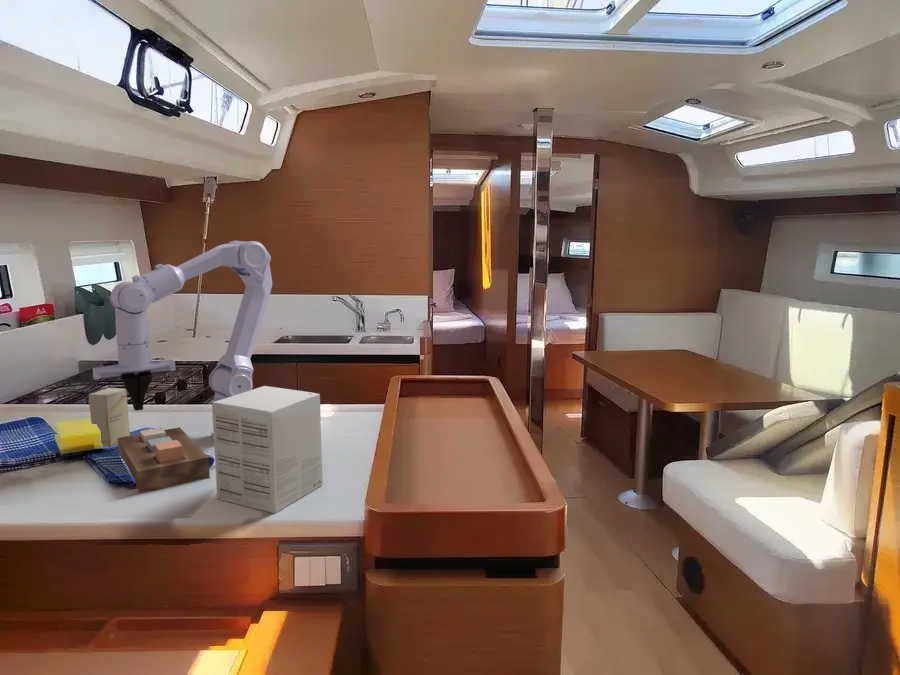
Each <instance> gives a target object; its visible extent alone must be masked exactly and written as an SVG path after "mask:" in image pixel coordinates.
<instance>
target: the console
mask: <svg viewBox="0 0 900 675" xmlns="http://www.w3.org/2000/svg"><path fill="white" fill-rule="evenodd" d="M163 430H164V431H165V432H166V437H168V436H169V437H170V438H171V439H172V440H173V441H174V440H178V441H179V443H180V444H181V445H182V447H183V460H178V461H173V462H168V463H163V464H157V462H156V459H155V452H154V453H150V452H149V451H148V445H147V442H146V443H142V441H141V435H140V433H138V434H134V435H133V434H132V435H131V434H130V436H126V437H120V438H117V442H118V448H117V451H118V452H119V453H120V455H121V457H122V458H123V460H124V461H125V463H126V465H127V466H128V468H129V470H130V472H131V474H132V476H133V477H134V479H135V482H136V486H135V487H136V489H137V491H138V493H139V494H141V493H147V492H150V491H155V490H160V489H165V488H168V487H174V486H177V485H183V484H188V483H191V482H196V481H200V480H205V479H209V478H210V477H211V476H210V475H211V474H210V473H211V472H210V461H209V460H210V459H209V456H208V455H207V454H206V453H205V452H204V451H203V449H201V448H200V447H199V445H197V444H196V442H194V441H193V439H192V438H190V436H189V435H188V434H187V433H186V432H185V431H184V430H183V429H182V428H181V427H180V426H179V427H174V428H169V429H163ZM119 453H118V454H119Z"/></svg>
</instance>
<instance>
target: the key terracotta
mask: <svg viewBox="0 0 900 675" xmlns="http://www.w3.org/2000/svg"><path fill="white" fill-rule="evenodd" d="M154 446H155V459H156V462H157V464H163V463H168V462H173V461H178V460H183V447H182V445H181V444H180V443H179V441H178V440H174V441H169V442H163V443H158V444H154Z"/></svg>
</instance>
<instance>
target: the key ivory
mask: <svg viewBox="0 0 900 675" xmlns="http://www.w3.org/2000/svg"><path fill="white" fill-rule="evenodd" d="M164 430H165V429H163V428H162V427H156V428H150V429H143V430H140V431H139V432H140V433H139V434H140V435H141V441H142V443H146V442H147V440H151V439H157V438H162V437H166V432H165V431H164Z"/></svg>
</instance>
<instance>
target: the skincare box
mask: <svg viewBox="0 0 900 675" xmlns="http://www.w3.org/2000/svg"><path fill="white" fill-rule="evenodd" d="M88 401H89V403H88V404H89V411H90V412H89V415H90V423H92V424H97V426H98V428H99V429H100V431H101V443H102V444H103V446H107V447H111V446H114V445H116V444H118V442H117V438H120V437H126V436H131V431H130V420H129V419H130V418H129V410H128V409H129V407H128V397H127V389H126V388H121V387H120V388H119V387H118V388H117V387H107V388H105V389H104V388H103V389H101V390H98V391H96V392H93V393H88Z"/></svg>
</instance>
